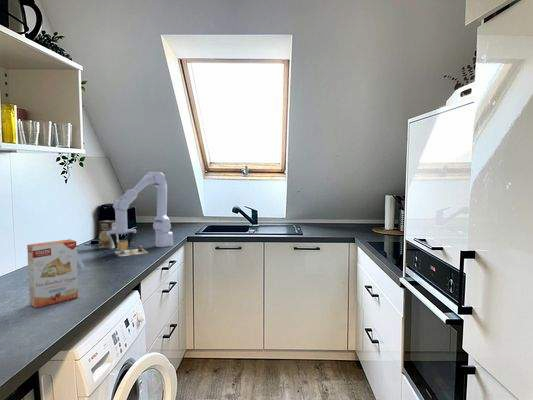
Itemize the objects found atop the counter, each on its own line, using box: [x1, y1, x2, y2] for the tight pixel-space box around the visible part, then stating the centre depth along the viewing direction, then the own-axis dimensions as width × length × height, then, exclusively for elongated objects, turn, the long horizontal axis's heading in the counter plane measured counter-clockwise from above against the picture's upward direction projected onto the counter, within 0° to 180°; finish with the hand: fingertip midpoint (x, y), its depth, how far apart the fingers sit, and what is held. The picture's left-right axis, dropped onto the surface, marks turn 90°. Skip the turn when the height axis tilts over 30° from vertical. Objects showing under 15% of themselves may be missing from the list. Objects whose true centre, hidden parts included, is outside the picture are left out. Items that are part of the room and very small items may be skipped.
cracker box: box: [26, 238, 79, 309], centre depth 129 cm, size 14×6×21 cm, turn 138°
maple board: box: [114, 247, 149, 257], centre depth 201 cm, size 15×13×1 cm
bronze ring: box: [115, 240, 129, 251], centre depth 198 cm, size 6×6×4 cm
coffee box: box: [98, 219, 120, 249], centre depth 214 cm, size 9×6×16 cm
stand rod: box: [137, 245, 143, 252], centre depth 203 cm, size 2×2×3 cm
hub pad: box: [114, 251, 130, 256], centre depth 199 cm, size 7×7×1 cm
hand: (122, 247), depth 198 cm, fingers closed on bronze ring, 6 cm apart
